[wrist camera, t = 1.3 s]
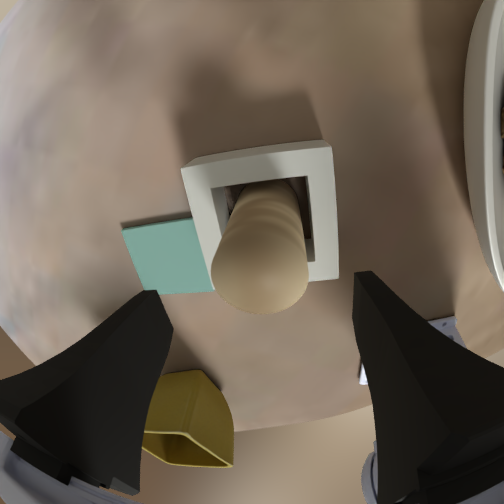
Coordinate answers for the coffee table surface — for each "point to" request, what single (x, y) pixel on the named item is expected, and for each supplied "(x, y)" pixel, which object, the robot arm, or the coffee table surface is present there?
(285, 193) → the dowel
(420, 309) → the coffee table surface
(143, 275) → the pad
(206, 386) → the flower pot
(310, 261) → the socket block
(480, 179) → the bowl
